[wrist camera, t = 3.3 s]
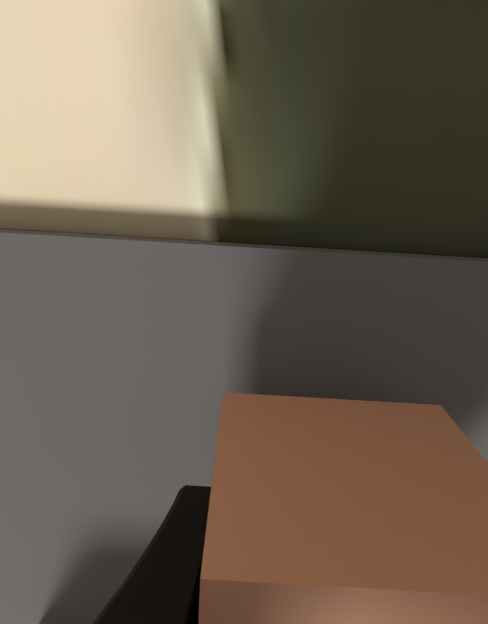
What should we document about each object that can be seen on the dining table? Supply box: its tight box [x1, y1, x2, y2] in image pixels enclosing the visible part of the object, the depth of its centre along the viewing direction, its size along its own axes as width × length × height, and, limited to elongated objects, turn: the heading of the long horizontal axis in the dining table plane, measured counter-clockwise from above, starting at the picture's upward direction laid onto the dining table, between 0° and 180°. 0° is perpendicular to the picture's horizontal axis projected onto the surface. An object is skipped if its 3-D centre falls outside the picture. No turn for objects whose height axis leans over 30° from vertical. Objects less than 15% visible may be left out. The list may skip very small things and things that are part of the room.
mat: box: [0, 229, 488, 624], centre depth 13 cm, size 18×17×1 cm
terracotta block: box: [198, 392, 488, 624], centre depth 8 cm, size 4×4×4 cm
